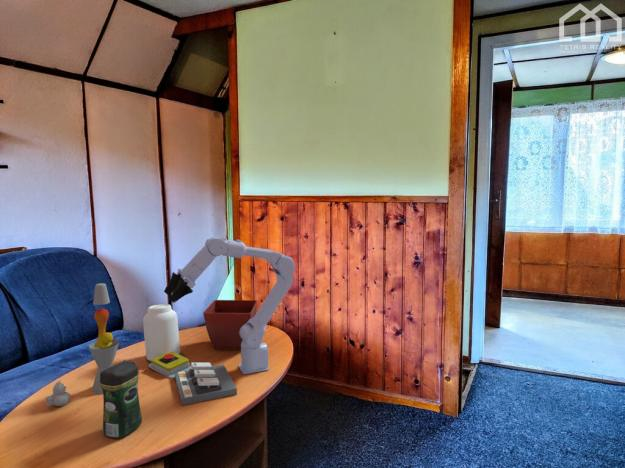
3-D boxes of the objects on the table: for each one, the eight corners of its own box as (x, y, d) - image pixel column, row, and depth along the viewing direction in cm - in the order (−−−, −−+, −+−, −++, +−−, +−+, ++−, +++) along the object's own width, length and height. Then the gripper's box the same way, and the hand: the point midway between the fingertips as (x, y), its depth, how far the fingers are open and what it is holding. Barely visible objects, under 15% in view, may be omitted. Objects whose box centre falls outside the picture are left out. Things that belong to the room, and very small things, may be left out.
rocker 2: (212, 372, 145) (213, 369, 145) (214, 376, 142) (215, 373, 142) (193, 372, 142) (194, 369, 142) (195, 377, 139) (195, 373, 139)
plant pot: (251, 354, 170) (250, 312, 168) (203, 353, 170) (202, 312, 168) (258, 337, 189) (257, 299, 187) (215, 336, 189) (214, 299, 187)
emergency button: (169, 346, 163) (194, 358, 154) (170, 357, 164) (194, 369, 155) (147, 355, 156) (171, 367, 147) (147, 366, 156) (172, 379, 147)
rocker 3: (216, 380, 139) (217, 377, 139) (218, 385, 136) (219, 381, 136) (196, 380, 136) (197, 377, 136) (198, 385, 133) (199, 382, 133)
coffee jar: (124, 417, 123) (121, 356, 121) (146, 423, 120) (143, 360, 118) (97, 436, 114) (93, 369, 112) (120, 442, 111) (116, 374, 109)
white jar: (160, 364, 157) (155, 310, 156) (139, 359, 164) (135, 308, 163) (187, 353, 168) (183, 303, 166) (166, 349, 175) (162, 301, 173)
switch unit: (223, 369, 155) (223, 360, 155) (237, 394, 137) (236, 383, 136) (174, 378, 148) (174, 368, 148) (181, 405, 130) (181, 393, 130)
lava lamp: (84, 391, 139) (78, 286, 135) (106, 379, 147) (101, 280, 143) (106, 396, 136) (100, 288, 132) (127, 383, 144) (122, 282, 140)
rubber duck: (73, 403, 131) (72, 378, 130) (50, 413, 126) (48, 387, 125) (65, 398, 134) (63, 374, 133) (42, 407, 129) (40, 382, 128)
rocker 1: (209, 365, 151) (209, 362, 151) (211, 369, 148) (211, 366, 148) (191, 365, 148) (191, 362, 148) (192, 369, 145) (193, 366, 145)
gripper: (183, 253, 148) (155, 283, 146) (194, 264, 136) (164, 297, 133) (197, 265, 152) (170, 295, 149) (209, 277, 140) (180, 309, 137)
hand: (168, 297), depth 142 cm, fingers open, 7 cm apart
